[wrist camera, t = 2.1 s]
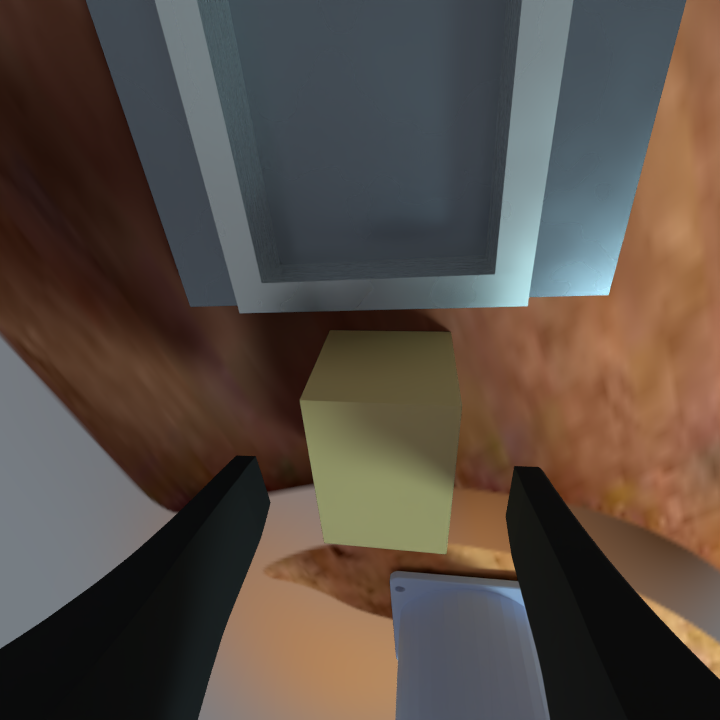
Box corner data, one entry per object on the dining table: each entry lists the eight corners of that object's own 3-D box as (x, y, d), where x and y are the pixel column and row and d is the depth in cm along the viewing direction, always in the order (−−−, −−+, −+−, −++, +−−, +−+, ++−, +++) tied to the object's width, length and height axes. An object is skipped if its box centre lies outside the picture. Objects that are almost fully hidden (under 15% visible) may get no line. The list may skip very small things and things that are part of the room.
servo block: (440, 461, 16) (446, 554, 12) (344, 455, 16) (324, 543, 13) (450, 330, 12) (462, 406, 9) (330, 328, 13) (299, 400, 10)
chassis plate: (594, 281, 11) (635, 319, 9) (205, 294, 13) (162, 328, 11) (746, -358, 6) (936, -640, 4) (58, -175, 8) (-80, -289, 6)
